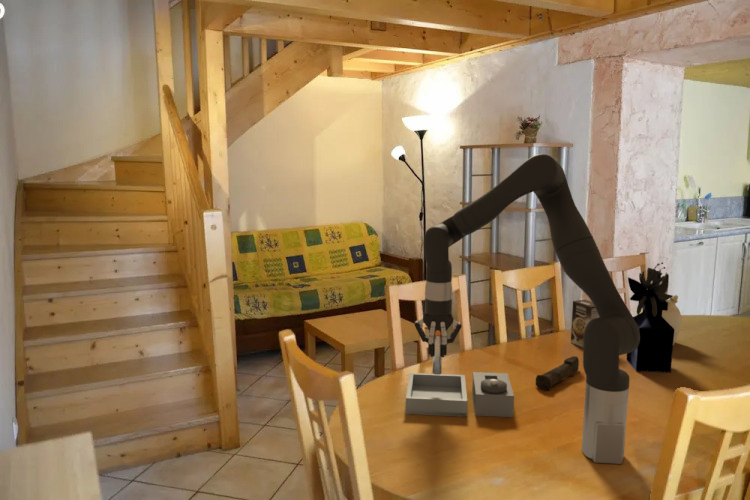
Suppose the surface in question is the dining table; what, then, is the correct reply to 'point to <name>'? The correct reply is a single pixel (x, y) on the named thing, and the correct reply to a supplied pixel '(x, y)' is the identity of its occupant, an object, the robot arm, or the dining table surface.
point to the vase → (652, 323)
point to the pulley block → (492, 394)
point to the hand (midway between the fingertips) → (437, 355)
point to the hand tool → (558, 373)
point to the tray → (436, 395)
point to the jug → (672, 315)
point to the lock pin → (437, 352)
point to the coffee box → (581, 319)
